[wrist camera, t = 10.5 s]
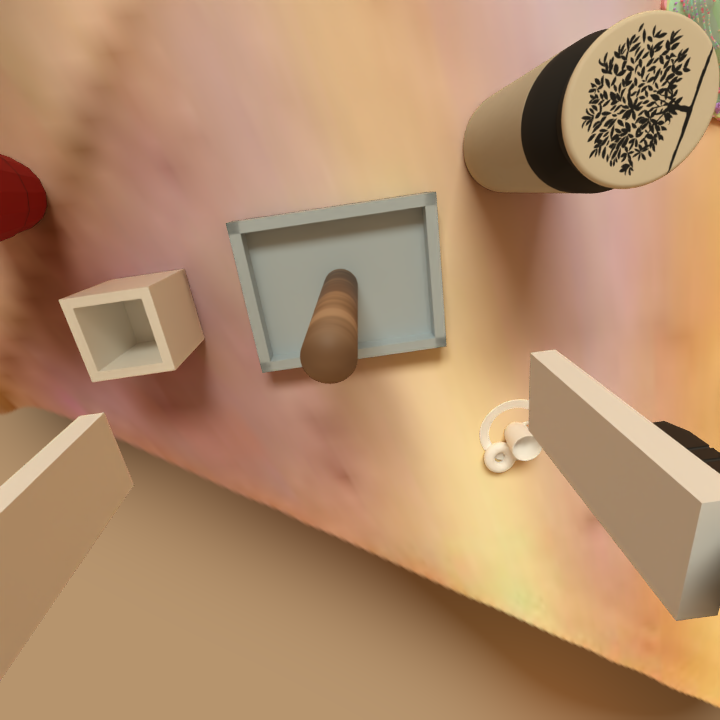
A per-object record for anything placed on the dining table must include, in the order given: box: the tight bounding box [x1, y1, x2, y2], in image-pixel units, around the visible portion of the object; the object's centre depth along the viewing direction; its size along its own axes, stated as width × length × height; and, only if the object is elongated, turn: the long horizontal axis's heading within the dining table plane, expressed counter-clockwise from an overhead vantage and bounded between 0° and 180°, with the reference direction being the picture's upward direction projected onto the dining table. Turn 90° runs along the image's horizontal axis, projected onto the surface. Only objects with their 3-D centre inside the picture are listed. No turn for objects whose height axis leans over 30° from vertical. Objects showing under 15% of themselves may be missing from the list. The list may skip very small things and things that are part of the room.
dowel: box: [300, 269, 358, 384], centre depth 32 cm, size 3×3×18 cm
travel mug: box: [463, 10, 719, 193], centre depth 29 cm, size 8×8×18 cm
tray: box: [226, 192, 446, 373], centre depth 40 cm, size 14×18×2 cm
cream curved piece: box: [479, 399, 542, 473], centre depth 47 cm, size 9×8×4 cm
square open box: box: [59, 269, 205, 382], centre depth 38 cm, size 7×7×8 cm
